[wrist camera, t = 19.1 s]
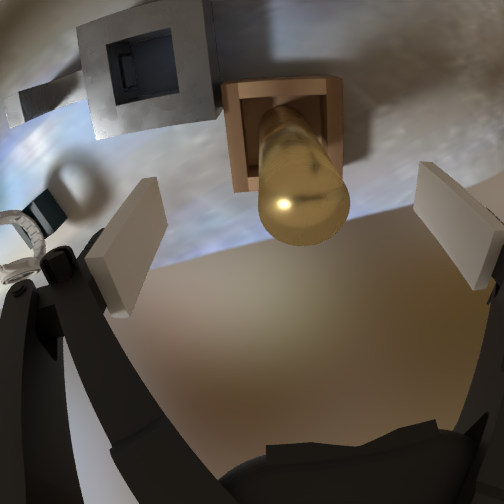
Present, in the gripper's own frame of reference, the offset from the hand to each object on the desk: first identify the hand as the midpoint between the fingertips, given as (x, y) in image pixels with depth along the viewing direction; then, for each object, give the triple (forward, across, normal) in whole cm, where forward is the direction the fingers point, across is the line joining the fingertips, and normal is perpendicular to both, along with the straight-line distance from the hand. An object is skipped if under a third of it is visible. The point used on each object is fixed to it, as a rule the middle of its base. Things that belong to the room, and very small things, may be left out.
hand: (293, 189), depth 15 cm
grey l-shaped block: (+15, +17, -7) cm, 23 cm away
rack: (+14, -1, 0) cm, 14 cm away
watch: (+15, +27, +6) cm, 32 cm away
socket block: (+14, +9, -7) cm, 19 cm away
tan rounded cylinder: (+13, 0, 0) cm, 13 cm away
